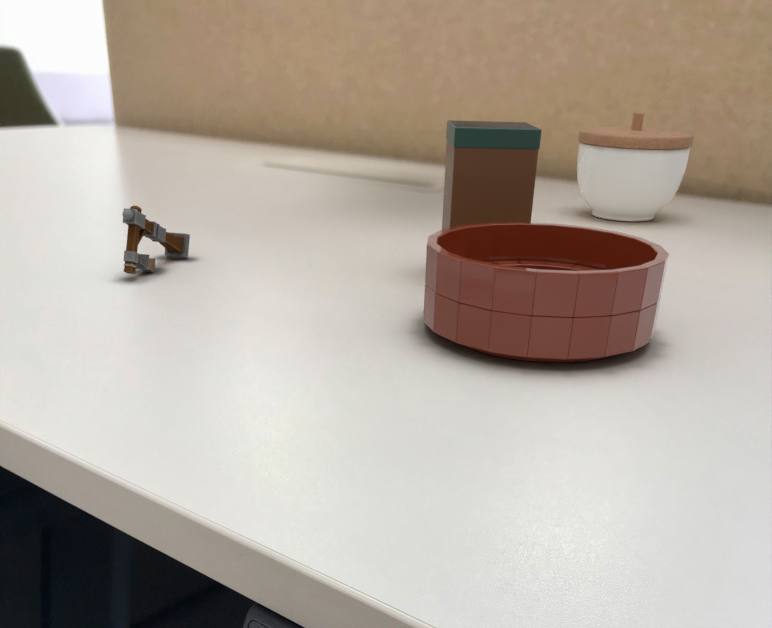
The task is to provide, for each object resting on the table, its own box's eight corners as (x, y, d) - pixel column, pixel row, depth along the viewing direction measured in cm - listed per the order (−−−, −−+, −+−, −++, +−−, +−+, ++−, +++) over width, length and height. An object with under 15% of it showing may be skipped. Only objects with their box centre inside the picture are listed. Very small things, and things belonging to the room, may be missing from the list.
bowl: (502, 290, 56) (509, 214, 54) (687, 331, 49) (706, 245, 46) (377, 332, 47) (379, 243, 45) (580, 389, 40) (596, 287, 38)
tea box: (439, 266, 62) (446, 120, 57) (512, 267, 62) (526, 122, 57) (445, 284, 57) (454, 127, 52) (525, 286, 57) (541, 129, 52)
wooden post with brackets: (108, 268, 55) (113, 199, 55) (163, 290, 63) (168, 229, 62) (133, 270, 55) (138, 201, 54) (185, 292, 63) (190, 231, 62)
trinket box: (612, 229, 76) (630, 117, 72) (548, 209, 85) (559, 109, 80) (701, 222, 80) (722, 116, 76) (630, 204, 89) (646, 108, 84)
